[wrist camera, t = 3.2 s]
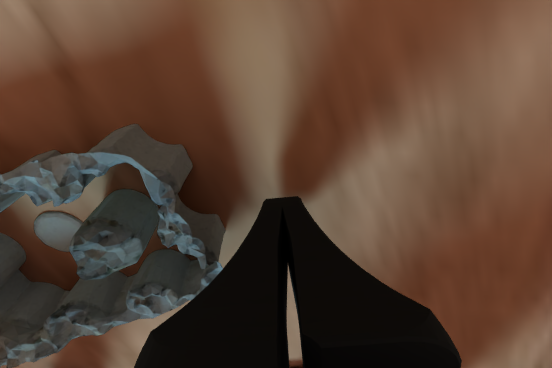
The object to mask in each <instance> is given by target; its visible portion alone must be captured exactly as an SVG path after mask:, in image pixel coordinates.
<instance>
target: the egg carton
mask: <svg viewBox="0 0 552 368" xmlns="http://www.w3.org/2000/svg"><path fill="white" fill-rule="evenodd" d="M124 162H125V163H129V164H131V165H132V166H134V167H135V168H137V169H138V170H140V173H141V176H142V178H143V181H144V184H145V186H146V188H147V190H148V192H149V195H150V197H151V199H150V198H149V197H148V196H146V195H144V194H142V193H140V192H138V191H135V190H131V189H120V190H116V191H113V192H112V193H111V194H110V195H109V196H107V197H106V198H105V199H104V200H103V201H102V202H101V204H100V205H99V206H98V207H97V208H96V209H95V210H94V211H93V212H92V213H91V215H90V216H89V217H88V218H87V219H86V220H85V221H84V223H82V222H81V221H80V220H79V219H77V218H75V217H74V216H72V215H70V214H66V213H63V212H53V211H51V212H45V213H43V214H41V215H40V216H38V217H37V218H36V220H35V222H34V230H35V233H36V235H37V236H38V238H39V239H40V240H41V241H42V242H43V243H44V244H45V245H48V246H50V247H53V248H55V249H57V250H59V251H64V252H71V254H72V256H73V258H74V259H75V261H76V263H77V265H78V268H77V274H78V276H79V277H80V279H79V280H78V282H77V283H76V284H75V286H74V287H73V288H72V290H71V291H65V290H63V289H62V288H60V287H59V286H56V285H53V284H50V283H45V282H31V281H29V280H28V279H27V278H26V277H25V276H24V275H23V274H22V273H21V272H20V271H19V268H20V267H21V266H22V265H23V264H24V262H25V261H26V253H25V251H24V249H23V248H22V246H21V245H20V244H19V243H18V242H16V241H15V240H14V239H12V238H10V237H9V236H7V235H5V234H3V233H0V367H1V366H3V365H6V364H7V368H12V367H17V366H18V365H20V364H22V363H24V362H35V361H37V360H39V359H41V358H44V357H47V356H49V355H51V354H53V353H57V352H59V351H60V350H61V349H62V348H63V347H65V346H66V345H67V344H68V343H69V341H70V340H71V339H74V338H77V337H80V336H88V335H95V336H98V335H102V334H105V333H106V332H107V331H109V330H110V329H111V328H113V327H114V326H118V325H121V324H125V323H129V322H131V321H134V320H137V319H146V318H155V317H157V316H159V315H161V314H163V313H165V312H168V311H170V310H172V309H175V308H177V307H179V306H180V305H182V304H184V303H185V302H187V301H188V300H192V299H193V298H195V297H196V296H197V295H198V294H199V293H200V292H201V291H202V290H203V289H204V288H205V287H206V286H207V285H208V284H209V283H210V282H211V281H212V280H213V279H214V278H215V277H216V276H217V275H218V274H219V273H220V272H221V270H222V269H223V268H222V266H221V264H220V263H219V262H218V261H219V255H220V249H221V244H222V241H223V236H224V233H225V228H224V226H223V224H222V222H221V220H220V218H219V216H218V215H217V214H201V213H197V212H194V211H192V210H191V209H189V208H188V207H186V206H185V205H184V204H183V203H182V202H181V200H180V198H179V196H178V192H180V190H181V187H182V185H183V183H184V181H185V179H186V178H187V176H188V174H189V172H190V171H191V169H192V168H193V166H192V162H191V160H190V158H189V156H188V154H187V152H186V149H185V148H184V147H183V145H181V144H177V145H171V144H166V143H162V142H158V141H156V140H154V139H153V138H151V137H150V136H148V135H147V134H146V133H145V132H144V131H143V130H142V129H141V127H140V126H139V125H138V124H132V125H129V126H126V127H123V128H120V129H117V130H115V131H113V132H112V133H111V134H109V135H108V136H106V137H105V138H104V139H103V140H102V141H100V142H99V143H98V145H96V146H94V147H92V148H91V150H90V151H88V152H87V153H82V154H75V153H67V154H62V155H61V154H60V153H59V152H58V151H57V150H52V151H48V152H46V153H42V154H39V155H37V156H35V157H33V158H31V159H29V160H28V161H26V162H25V163H23V164H22V165H20V166H19V167H17V168H16V169H14V170H12V171H10V172H7V173H5V174H2V175H1V174H0V213H1V212H2V211H3V210H5V209H6V208H7V207H8V206H10V205H11V204H12V203H14V202H15V201H16V200H18V199H19V198H20V197H21V196H23V195H24V194H25V193H26V194H28V195H29V196H30V198H31V200H32V201H33V203H34V204H35V205H36V206H39V205H42V204H44V203H47V202H49V201H53V204H54V207H55V206H59V205H61V204H62V203H69V202H72V201H74V200H75V199H77V198H79V197H80V195H81V194H82V192H83V190H84V188H85V187H86V186H87V185H88V184H89V183H90V182H91V181H92V180H93V179H94V178H95V177H96V176H97V177H99V176H102V175H104V174H106V172H107V171H108V169H109V168H110V167H112V166H114V165H116V164H120V163H124ZM153 201H154V202H155V203H156V204H157V205H162V206H161V207H160V209H158V206H157V205H156V204H155V203H154V202H153ZM159 220H160V221H159ZM157 225H158V230H157V232H158V236H159V238H161V241H162V244H163V245H165V246H167V248H170V247H171V246H173V245H174V244H176V245H177V246H178V249H179V251H180V252H182V253H183V254H182V253H179V252H177V251H174V250H171V249H162V250H157V251H154V252H152V253H151V254H149V255H148V256H147V257H146V258H145V260H144V262H143V264H142V265H141V267H140V269H139V271H138V273H137V274H134V275H132V276H129V277H127V276H126V275H124V274H123V273H121V272H120V271H118V270H120V269H123V268H125V267H128V266H130V265H132V264H135V263H137V262H138V260H139V258H140V257H141V255H142V254H143V252H144V250H145V249H146V247H147V245H148V243H149V240H150V238H151V236H152V234H153V232H154V230H155V229H156V227H157ZM184 254H189V255H193V256H196V257H197V258H198V260H192V261H191V260H189V259H188V258H187V257H186V256H185V255H184Z"/></svg>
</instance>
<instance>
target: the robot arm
mask: <svg viewBox="0 0 552 368" xmlns="http://www.w3.org/2000/svg"><path fill="white" fill-rule="evenodd" d="M288 266H289V271H290V276H291V282H292V287H293V292H294V298H295V303H296V308H297V314H298V320H299V328H300V338H301V349H302V359H303V368H461V358H460V355H459V353H458V351H457V349H456V347H455V345H454V343H453V342H452V340H451V338H450V337H449V335H448V333H447V332H446V331H445V329H444V328H443V326H442V325H441V324H440V322H439V321H438V319H437V318H436V317H435V315H434V314H433V313H432V311H431V310H430V309H428V308H427V307H425V306H423V305H421V304H419V303H417V302H415V301H413V300H412V299H410V298H408V297H406V296H404V295H402V294H400V293H398V292H397V291H395V290H393V289H392V288H390V287H389V286H387V285H385V284H384V283H382V282H381V281H379V280H378V279H376V278H375V277H373V276H372V275H371V274H369V273H368V272H366V271H365V270H364V269H362V268H361V267H360V266H358V265H357V264H356V263H355V262H354V261H352V260H351V259H350V258H349V257H348V256H347V255H345V254H344V253H343V252H342V251H341V250H340V249H339V248H338V247H337V246H336V245H335V244H334V243H333V242H332V241H331V240H330V239H329V238H328V237H327V235H326V234H325V233H324V232H323V231H322V230H321V229H320V227H319V226H318V225H317V223H316V222H315V221H314V220H313V218H312V217H311V215H310V214H309V212H308V211H307V209H306V208H305V206H304V204H303V203H302V201H301V198H299V197H298V196H295V197H284V198H273V199H266V200H265V201H264V202H263V205H262V208H261V210H260V212H259V215H258V217H257V219H256V221H255V223H254V224H253V226H252V228H251V230H250V232H249V233H248V235H247V237H246V238H245V240H244V241H243V243H242V244H241V246H240V247H239V249H238V250H237V252H236V253H235V254H234V256H233V257H232V258H231V260H230V261H229V262H228V263H227V265H226V266H225V267H224V268H223V269H222V270H221V272H220V273H219V274H218V275H217V276H216V277H215V278H214V279H213V280H212V281H211V282H210V283H209V284H208V285H207V286H206V287H205V288H204V289H203V290H202V291H201V292H200V293H199V294H198V295H197V296H196V297H195V298H193V299H192V300H191V301H190V302H189V303H188V304H187V305H185V306H184V307H183V308H182V309H181V310H179V311H178V312H177V313H175V314H174V315H173V316H171V317H170V318H169V319H167V320H166V321H165V322H163V323H162V324H161V325H159V326H158V327H157V328H155V329H154V330H152V331H151V332H150V334H149V336H148V338H147V340H146V343H145V344H144V346H143V348H142V350H141V352H140V354H139V357H138V359H137V361H136V364H135V366H134V368H289V355H288V339H287V317H286V313H287V275H288Z"/></svg>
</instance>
